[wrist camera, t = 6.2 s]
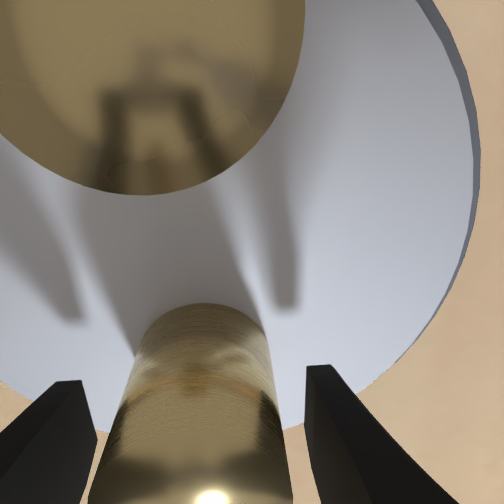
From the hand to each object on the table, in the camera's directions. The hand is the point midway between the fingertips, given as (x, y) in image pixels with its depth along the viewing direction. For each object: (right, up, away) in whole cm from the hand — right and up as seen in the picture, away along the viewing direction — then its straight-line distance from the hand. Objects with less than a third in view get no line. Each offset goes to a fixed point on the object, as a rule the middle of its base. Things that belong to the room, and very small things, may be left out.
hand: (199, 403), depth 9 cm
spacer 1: (0, +8, -1) cm, 8 cm away
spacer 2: (0, +1, +2) cm, 2 cm away
